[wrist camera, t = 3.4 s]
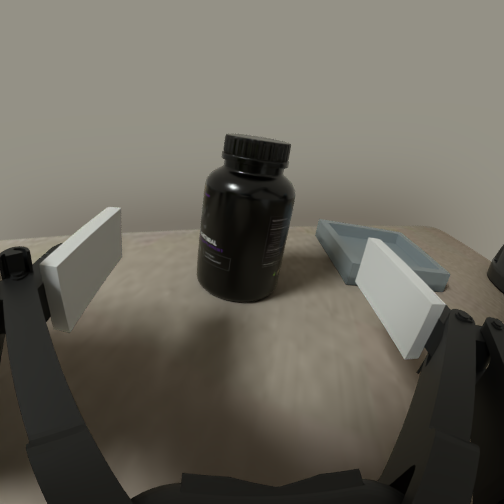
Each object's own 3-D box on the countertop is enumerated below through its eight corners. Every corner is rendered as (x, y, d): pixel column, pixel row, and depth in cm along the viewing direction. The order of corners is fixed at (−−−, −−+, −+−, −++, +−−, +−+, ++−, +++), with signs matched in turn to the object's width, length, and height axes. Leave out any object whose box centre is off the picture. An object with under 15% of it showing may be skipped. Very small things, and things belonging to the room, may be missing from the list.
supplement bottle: (179, 285, 24) (191, 130, 19) (220, 257, 30) (236, 132, 25) (257, 316, 22) (288, 145, 17) (287, 279, 28) (313, 146, 23)
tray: (396, 246, 41) (400, 232, 40) (443, 291, 29) (450, 274, 28) (315, 235, 40) (319, 219, 39) (346, 284, 28) (352, 263, 27)
